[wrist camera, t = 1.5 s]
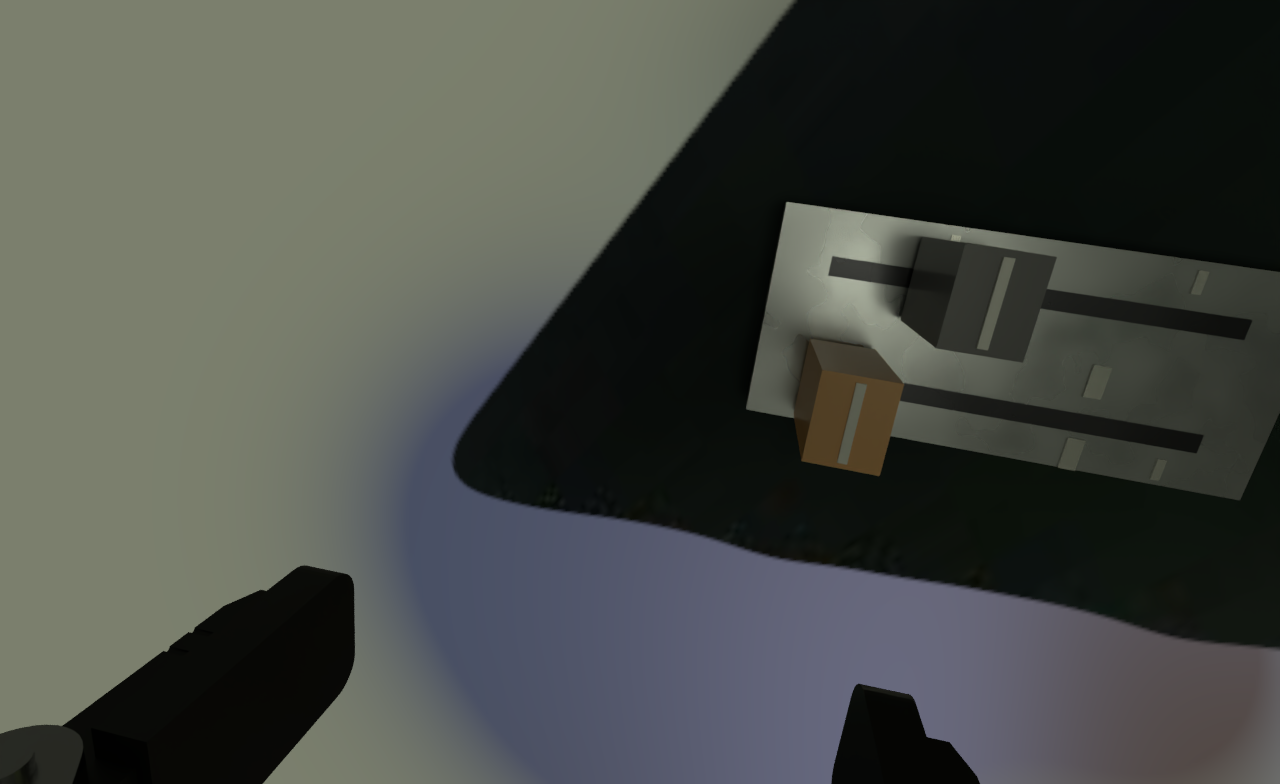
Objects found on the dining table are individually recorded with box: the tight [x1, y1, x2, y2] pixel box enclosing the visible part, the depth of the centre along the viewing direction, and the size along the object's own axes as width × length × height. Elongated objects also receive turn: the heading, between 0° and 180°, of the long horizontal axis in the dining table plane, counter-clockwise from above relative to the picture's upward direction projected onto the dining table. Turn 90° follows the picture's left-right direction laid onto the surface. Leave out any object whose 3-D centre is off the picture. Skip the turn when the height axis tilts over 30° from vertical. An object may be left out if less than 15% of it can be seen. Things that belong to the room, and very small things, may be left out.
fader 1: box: [793, 338, 904, 476], centre depth 22 cm, size 3×2×5 cm
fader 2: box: [901, 236, 1057, 363], centre depth 21 cm, size 3×2×5 cm
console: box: [746, 202, 1280, 500], centre depth 24 cm, size 8×18×2 cm, turn 82°
